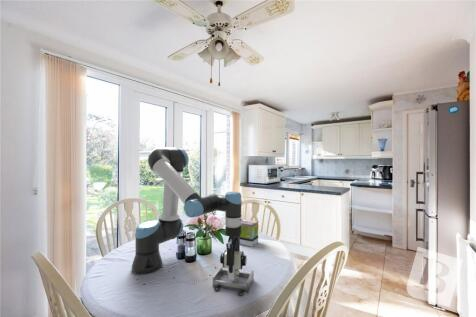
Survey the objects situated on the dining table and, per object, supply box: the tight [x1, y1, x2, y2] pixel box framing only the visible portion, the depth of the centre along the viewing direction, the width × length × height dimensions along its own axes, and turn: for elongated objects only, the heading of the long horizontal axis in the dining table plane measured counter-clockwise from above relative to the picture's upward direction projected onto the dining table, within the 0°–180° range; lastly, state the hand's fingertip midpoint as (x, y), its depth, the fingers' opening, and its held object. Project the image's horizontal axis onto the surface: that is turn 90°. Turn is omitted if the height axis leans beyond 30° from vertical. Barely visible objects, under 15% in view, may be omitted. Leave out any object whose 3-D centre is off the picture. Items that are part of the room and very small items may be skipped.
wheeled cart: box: [212, 265, 255, 297], centre depth 99 cm, size 17×13×4 cm
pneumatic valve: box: [219, 249, 248, 278], centre depth 101 cm, size 6×12×12 cm, turn 78°
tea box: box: [240, 218, 259, 248], centre depth 150 cm, size 15×10×15 cm
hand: (233, 275), depth 101 cm, fingers closed on pneumatic valve, 5 cm apart
